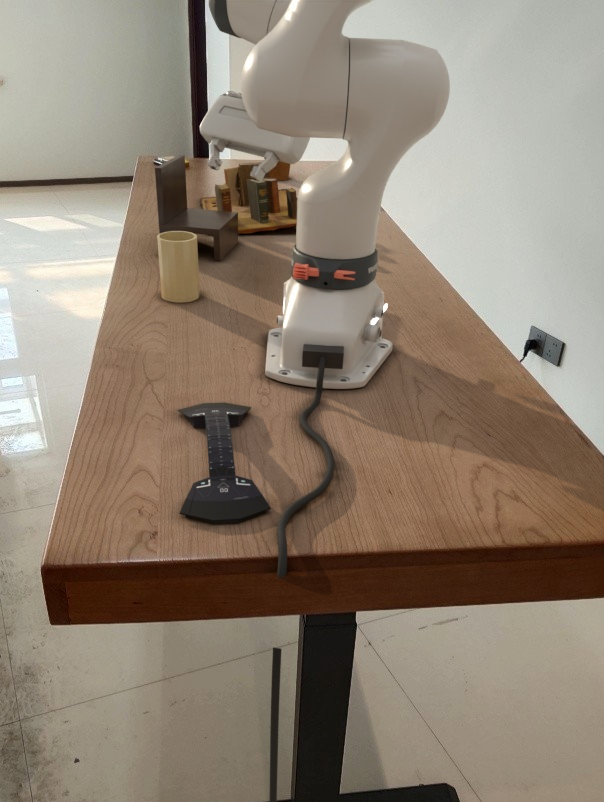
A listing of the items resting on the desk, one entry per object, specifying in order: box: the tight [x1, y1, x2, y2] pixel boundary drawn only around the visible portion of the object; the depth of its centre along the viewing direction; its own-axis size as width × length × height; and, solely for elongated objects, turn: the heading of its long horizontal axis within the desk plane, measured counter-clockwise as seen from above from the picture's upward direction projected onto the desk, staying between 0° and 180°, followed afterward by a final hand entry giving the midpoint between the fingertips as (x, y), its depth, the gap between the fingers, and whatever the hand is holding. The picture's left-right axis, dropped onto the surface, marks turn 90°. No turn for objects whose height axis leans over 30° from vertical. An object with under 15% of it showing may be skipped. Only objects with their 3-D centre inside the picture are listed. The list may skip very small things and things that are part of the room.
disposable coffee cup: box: [263, 157, 291, 181], centre depth 205 cm, size 10×10×12 cm
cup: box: [156, 231, 200, 304], centre depth 123 cm, size 6×6×10 cm
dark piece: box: [177, 402, 272, 525], centre depth 82 cm, size 9×25×3 cm, turn 8°
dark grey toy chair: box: [154, 154, 239, 262], centre depth 144 cm, size 14×12×16 cm
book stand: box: [199, 161, 298, 236], centre depth 167 cm, size 35×24×15 cm
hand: (233, 173), depth 124 cm, fingers open, 8 cm apart
